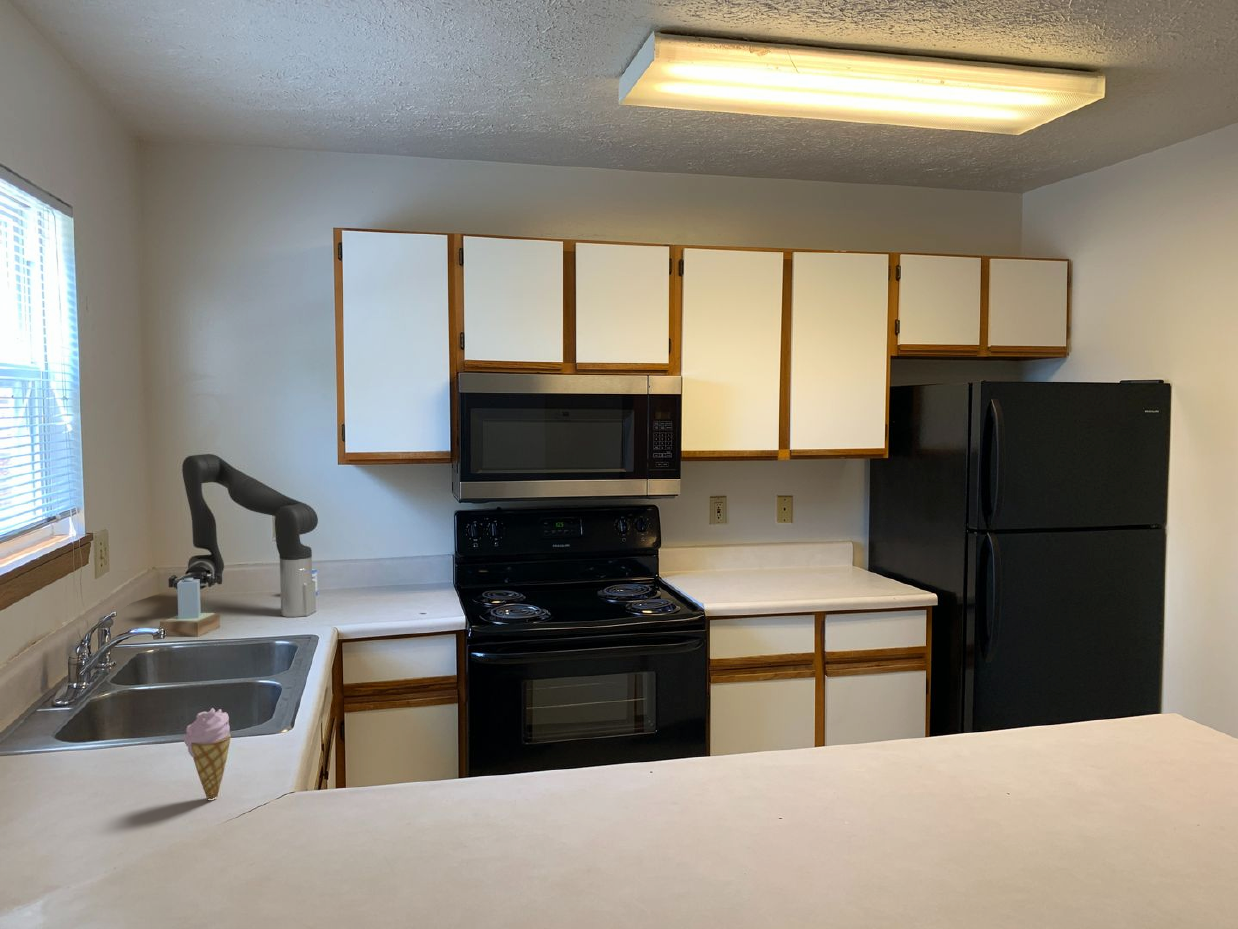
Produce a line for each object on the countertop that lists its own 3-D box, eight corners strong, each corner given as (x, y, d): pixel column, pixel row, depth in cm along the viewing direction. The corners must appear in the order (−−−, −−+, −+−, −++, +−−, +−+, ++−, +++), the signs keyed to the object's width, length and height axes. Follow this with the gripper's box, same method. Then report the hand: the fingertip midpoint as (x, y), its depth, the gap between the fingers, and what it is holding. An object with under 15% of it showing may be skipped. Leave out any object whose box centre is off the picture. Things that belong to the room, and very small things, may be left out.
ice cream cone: (196, 812, 136) (193, 717, 136) (179, 800, 141) (176, 708, 140) (239, 798, 141) (236, 706, 140) (221, 787, 146) (218, 697, 145)
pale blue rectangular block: (200, 614, 251) (199, 576, 250) (198, 618, 246) (197, 579, 246) (181, 615, 250) (180, 577, 249) (178, 619, 245) (177, 580, 244)
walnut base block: (220, 626, 253) (219, 612, 253) (197, 636, 242) (197, 621, 242) (184, 626, 254) (183, 611, 254) (160, 635, 243) (159, 620, 243)
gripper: (173, 563, 268) (165, 573, 253) (224, 561, 273) (219, 570, 258) (174, 588, 269) (166, 599, 253) (225, 585, 273) (220, 595, 258)
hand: (193, 584), depth 255 cm, fingers open, 8 cm apart
